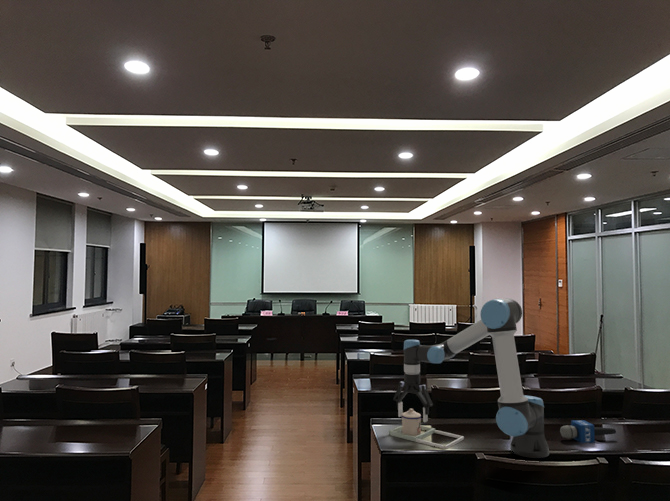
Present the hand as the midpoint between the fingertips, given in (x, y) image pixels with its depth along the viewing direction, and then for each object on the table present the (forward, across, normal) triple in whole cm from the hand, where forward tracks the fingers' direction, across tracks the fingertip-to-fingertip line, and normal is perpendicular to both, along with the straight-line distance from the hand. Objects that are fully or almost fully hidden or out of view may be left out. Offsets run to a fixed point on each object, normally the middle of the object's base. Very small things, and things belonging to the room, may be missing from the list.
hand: (412, 418), depth 228 cm
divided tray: (+7, -7, 0) cm, 10 cm away
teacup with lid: (+7, +1, 0) cm, 7 cm away
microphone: (+8, -64, -46) cm, 79 cm away
